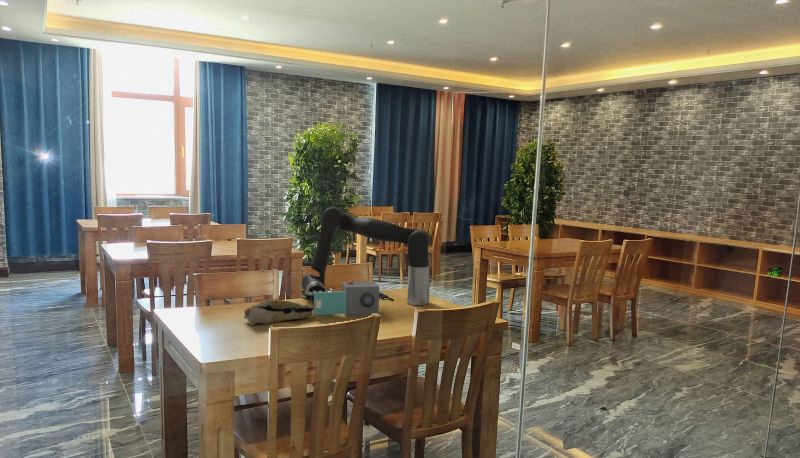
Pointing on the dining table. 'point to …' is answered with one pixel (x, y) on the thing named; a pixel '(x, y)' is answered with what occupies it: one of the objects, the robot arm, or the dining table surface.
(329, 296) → the door
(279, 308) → the mineral
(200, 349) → the dining table surface
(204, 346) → the dining table surface
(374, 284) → the camera box
